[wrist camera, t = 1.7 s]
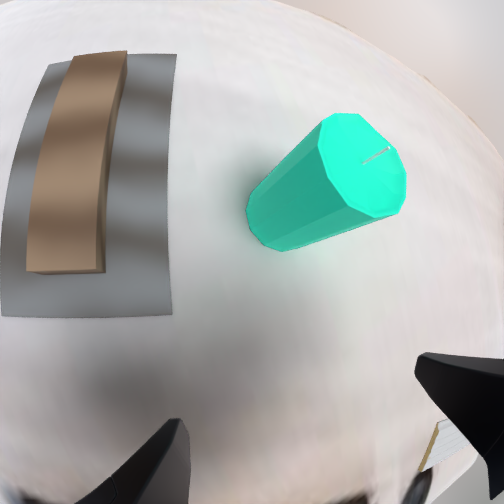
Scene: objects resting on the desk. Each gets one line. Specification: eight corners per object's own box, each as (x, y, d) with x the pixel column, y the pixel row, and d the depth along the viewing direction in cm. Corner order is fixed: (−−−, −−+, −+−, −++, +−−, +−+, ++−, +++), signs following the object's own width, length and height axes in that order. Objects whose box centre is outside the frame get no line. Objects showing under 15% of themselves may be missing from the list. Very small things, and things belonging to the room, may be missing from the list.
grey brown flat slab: (172, 314, 18) (174, 318, 15) (3, 315, 13) (-19, 318, 10) (176, 56, 21) (181, 32, 18) (49, 66, 16) (43, 45, 13)
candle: (324, 233, 23) (439, 188, 12) (268, 265, 21) (385, 231, 10) (291, 171, 23) (385, 92, 12) (232, 195, 21) (311, 99, 10)
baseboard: (437, 412, 27) (415, 469, 25) (451, 416, 24) (427, 474, 22) (493, 391, 35) (481, 431, 33) (503, 392, 32) (489, 433, 30)
